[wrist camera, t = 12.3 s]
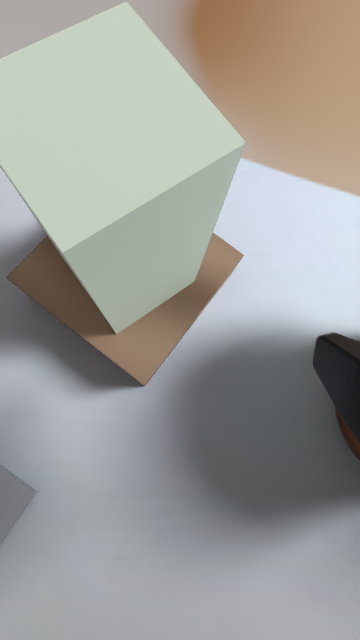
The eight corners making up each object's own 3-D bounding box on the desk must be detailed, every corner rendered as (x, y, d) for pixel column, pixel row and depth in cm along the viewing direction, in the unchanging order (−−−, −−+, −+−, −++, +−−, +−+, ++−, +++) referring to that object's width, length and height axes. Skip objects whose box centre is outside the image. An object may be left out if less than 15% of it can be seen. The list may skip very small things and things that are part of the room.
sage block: (116, 334, 16) (62, 253, 7) (63, 258, 17) (-57, 84, 7) (194, 281, 17) (246, 142, 8) (141, 211, 18) (126, 1, 8)
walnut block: (144, 386, 19) (143, 385, 16) (30, 297, 20) (6, 277, 17) (228, 276, 22) (243, 255, 18) (123, 198, 22) (118, 163, 19)
